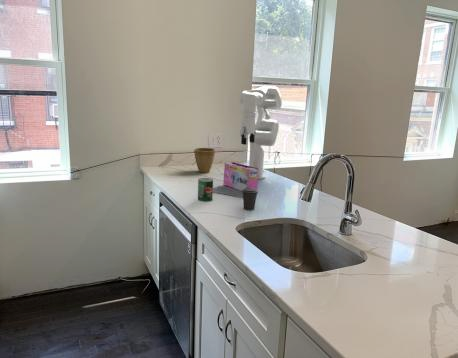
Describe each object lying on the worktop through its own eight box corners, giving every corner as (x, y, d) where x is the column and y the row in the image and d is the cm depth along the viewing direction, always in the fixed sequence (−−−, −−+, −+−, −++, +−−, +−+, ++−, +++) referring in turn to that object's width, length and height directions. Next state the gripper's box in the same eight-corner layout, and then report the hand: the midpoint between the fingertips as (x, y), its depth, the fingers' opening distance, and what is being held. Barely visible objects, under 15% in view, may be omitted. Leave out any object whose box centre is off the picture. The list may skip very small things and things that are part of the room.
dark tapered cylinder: (248, 205, 195) (249, 186, 193) (260, 209, 190) (261, 189, 188) (237, 208, 190) (238, 188, 188) (249, 212, 184) (250, 192, 182)
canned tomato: (210, 202, 198) (211, 181, 195) (195, 201, 199) (196, 180, 197) (214, 198, 205) (214, 178, 203) (200, 197, 207) (200, 177, 204)
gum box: (221, 184, 236) (222, 162, 233) (231, 183, 241) (232, 161, 238) (247, 192, 218) (248, 169, 215) (257, 191, 223) (259, 168, 220)
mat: (219, 186, 231) (219, 185, 231) (254, 192, 220) (254, 192, 220) (206, 191, 219) (206, 190, 219) (243, 198, 208) (243, 197, 208)
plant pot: (193, 169, 276) (193, 147, 273) (213, 169, 278) (214, 147, 274) (193, 173, 262) (194, 150, 258) (215, 174, 264) (216, 151, 260)
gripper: (250, 113, 235) (249, 141, 240) (236, 115, 221) (235, 144, 225) (261, 114, 231) (260, 142, 236) (247, 116, 217) (246, 145, 222)
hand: (247, 143), depth 231 cm, fingers open, 9 cm apart
